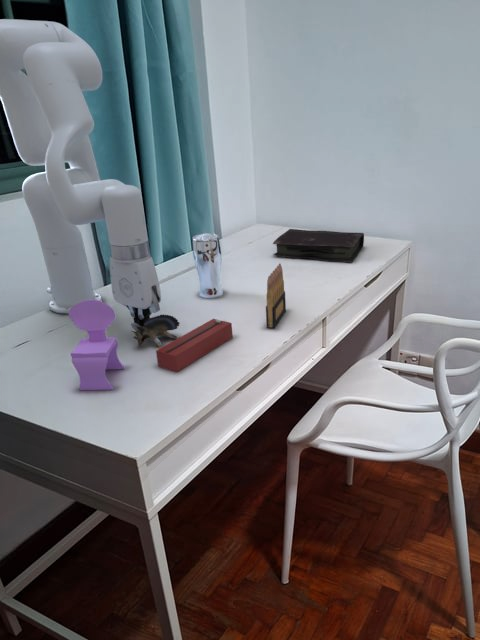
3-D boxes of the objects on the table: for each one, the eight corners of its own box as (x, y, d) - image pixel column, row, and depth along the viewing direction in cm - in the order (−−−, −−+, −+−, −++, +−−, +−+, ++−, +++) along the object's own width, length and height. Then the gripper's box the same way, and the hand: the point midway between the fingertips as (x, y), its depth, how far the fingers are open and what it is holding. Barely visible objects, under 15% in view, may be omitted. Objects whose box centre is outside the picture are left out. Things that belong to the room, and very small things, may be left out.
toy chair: (72, 391, 99) (53, 315, 91) (88, 368, 106) (71, 296, 99) (118, 390, 99) (102, 314, 91) (130, 368, 106) (116, 295, 99)
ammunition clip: (274, 328, 121) (272, 277, 115) (266, 328, 121) (264, 276, 115) (286, 311, 130) (284, 262, 124) (278, 310, 130) (276, 261, 124)
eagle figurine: (149, 351, 110) (186, 332, 114) (130, 321, 109) (168, 302, 113) (141, 358, 116) (176, 339, 120) (124, 329, 116) (159, 311, 120)
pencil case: (158, 366, 107) (155, 348, 105) (214, 333, 120) (213, 316, 118) (177, 372, 104) (174, 353, 102) (232, 337, 118) (231, 320, 116)
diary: (290, 242, 183) (290, 227, 180) (363, 246, 176) (364, 231, 173) (272, 258, 168) (271, 242, 165) (351, 263, 161) (352, 247, 158)
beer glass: (220, 299, 138) (214, 240, 130) (194, 298, 139) (187, 240, 131) (228, 290, 143) (223, 233, 136) (203, 289, 145) (197, 232, 137)
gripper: (90, 250, 110) (107, 332, 119) (144, 260, 103) (157, 347, 112) (118, 241, 115) (132, 320, 125) (170, 250, 109) (181, 333, 118)
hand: (144, 332), depth 118 cm, fingers closed
